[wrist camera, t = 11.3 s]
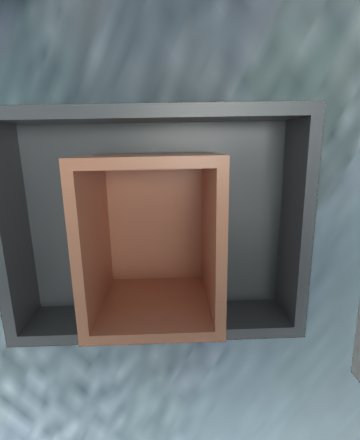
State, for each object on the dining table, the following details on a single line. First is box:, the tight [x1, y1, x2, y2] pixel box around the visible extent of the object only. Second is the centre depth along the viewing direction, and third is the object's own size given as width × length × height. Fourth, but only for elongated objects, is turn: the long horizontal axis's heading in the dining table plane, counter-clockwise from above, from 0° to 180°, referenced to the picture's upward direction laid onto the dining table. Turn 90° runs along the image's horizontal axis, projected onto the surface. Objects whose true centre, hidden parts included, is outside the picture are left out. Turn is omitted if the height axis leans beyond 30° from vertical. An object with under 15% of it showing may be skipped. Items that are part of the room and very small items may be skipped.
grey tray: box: [0, 100, 326, 347], centre depth 22 cm, size 16×21×5 cm
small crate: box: [58, 152, 230, 346], centre depth 19 cm, size 10×8×8 cm
